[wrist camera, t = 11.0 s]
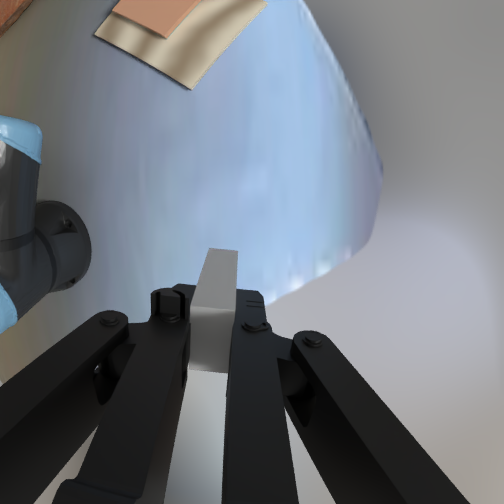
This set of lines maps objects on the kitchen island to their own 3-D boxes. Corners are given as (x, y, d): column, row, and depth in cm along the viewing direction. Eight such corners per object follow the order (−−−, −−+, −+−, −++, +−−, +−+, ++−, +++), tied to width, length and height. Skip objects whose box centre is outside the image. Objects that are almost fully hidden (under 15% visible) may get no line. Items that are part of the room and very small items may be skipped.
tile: (204, -7, 33) (149, -31, 30) (164, 35, 35) (111, 10, 32) (205, -3, 34) (152, -26, 32) (166, 39, 36) (115, 13, 34)
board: (267, 5, 36) (267, 2, 35) (191, 90, 40) (190, 89, 39) (167, -42, 32) (166, -45, 31) (96, 35, 36) (94, 34, 35)
